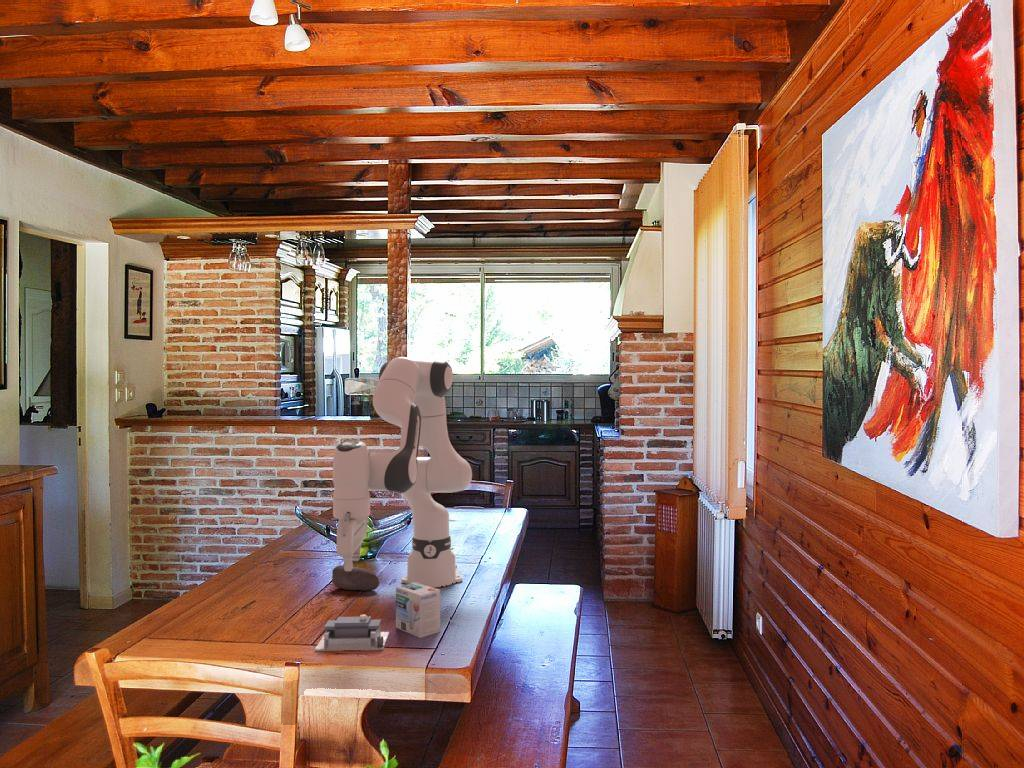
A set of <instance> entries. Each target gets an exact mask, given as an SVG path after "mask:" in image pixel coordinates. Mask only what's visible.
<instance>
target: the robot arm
mask: <svg viewBox="0 0 1024 768" xmlns="http://www.w3.org/2000/svg"><path fill="white" fill-rule="evenodd" d="M451 366H452V365H450V364H449V362H447V361H445V360H442V359H435V360H434V359H430V358H429V359H427V358H414V359H413V358H412V359H411V358H409V357H405V356H399V357H398V356H397V357H394V358H393V359H391V360H388V361H386V362H384V363H383V364H382V366H381V367H380V369H379V371H378V372H379V373H378V380H377V381H378V382H377V384H376V387H375V389H374V391H373V396H372V406H373V409H374V411H375V413H376V414H377V415H378V416H379V417H380V418H381V419H382V420H384V421H385V422H387V423H389V424H391V425H394V426H397V427H398V428H400V429H401V434H400V435H401V436H400V442H399V443H400V444H399V448H398V449H397V450H395V451H390V452H387V451H372V450H369V449H368V446H367V444H366V442H364V441H362V440H349V441H344V442H341V443H338V445H336V446H335V448H334V453H333V459H332V483H333V486H334V491H333V494H332V515H333V518H335V519H338V524H337V528H336V554H337V556H338V557H342V560H343V565H344V570H345V571H352V569H353V567H354V562H355V561H356V562H357V561H359V560H360V559H361V550H362V549H361V548H362V542H363V541H364V539H366V537H367V531H368V521H369V517H370V516H371V492H370V491H383V492H384V491H386V492H388V491H389V492H393V493H399V494H402V496H403V497H404V498H405V500H406V502H407V503H408V505H409V508H410V510H411V514H412V523H413V524H412V525H413V536H412V540H411V548H412V551H411V552H410V553H409V554H408V555H407V560H406V561H407V563H406V564H407V565H406V567H407V571H406V575H404V576H403V577H402V578H401V583H403V584H410V583H413V582H417V583H420V584H423V585H426V586H429V587H432V588H442V587H441V586H443V587H447V586H450V585H453V584H456V582H457V583H461V581H462V582H463V577H462V575H461V574H460V572H459V570H458V566H457V564H456V555H455V554H454V552H453V551H452V549H451V547H452V538H451V535H450V513H449V511H448V510H447V508H446V507H445V506H444V505H442V504H440V503H438V502H437V501H435V500H434V498H433V497H432V495H431V493H443V494H445V493H446V494H447V493H458V492H462V491H466V490H467V488H468V487H469V486H470V485H471V482H472V478H473V472H472V471H473V470H472V467H471V465H470V463H469V462H468V461H467V460H466V459H465V458H463V457H462V456H461V455H460V454H459V453H457V451H456V449H455V448H454V447H453V444H452V443H451V441H450V437H449V431H448V425H447V408H446V407H447V406H446V398H445V395H446V394H448V392H449V391H450V390H451V389H452V386H453V379H454V375H453V373H454V372H453V370H452V367H451ZM419 447H422V448H423V449H425V450H426V452H427V453H428V454H429V456H418V455H419V449H420V448H419ZM452 583H453V584H452ZM446 585H447V586H446Z"/></svg>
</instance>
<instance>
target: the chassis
mask: <svg viewBox="0 0 1024 768" xmlns="http://www.w3.org/2000/svg"><path fill="white" fill-rule="evenodd" d="M381 624H382V623H381ZM381 624H380V627H379V629H371V637H335V630H325V632H324V633H323V636H322V637H321V639H320V640H319V642H318V643H317V645H316V647H315V648H314V651H315V652H345V651H344V650H361V651H384V648H385V646H386V643H387V640H388V638H389V635H390V631H381V628H382V627H381ZM342 650H343V651H342Z"/></svg>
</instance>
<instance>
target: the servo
mask: <svg viewBox="0 0 1024 768" xmlns="http://www.w3.org/2000/svg"><path fill="white" fill-rule="evenodd" d="M380 624H382V619H372V616H370V615H369V616H367V614H360V615H359V616H337V619H336V620H335V619H333V620H332V619H329V620H327V622H326V623H325V625H324V626H323V630H324V631H326V630H335V637H371V629H379V627H380Z"/></svg>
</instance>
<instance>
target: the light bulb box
mask: <svg viewBox="0 0 1024 768" xmlns="http://www.w3.org/2000/svg"><path fill="white" fill-rule="evenodd" d="M395 628H396V629H398V630H401V631H403V632H405V633H408V634H409V635H412V636H415V637H416V638H418V639H422V638H425V637H428V636H431V635H434V634H437V633H440V632H441V589H439V588H436V587H434V588H432V587H429V586H426V585H423V584H420V583H417V582H413V583H410V584H407V583H405V584H404V585H403V584H402V585H399V586H396V587H395Z"/></svg>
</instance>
